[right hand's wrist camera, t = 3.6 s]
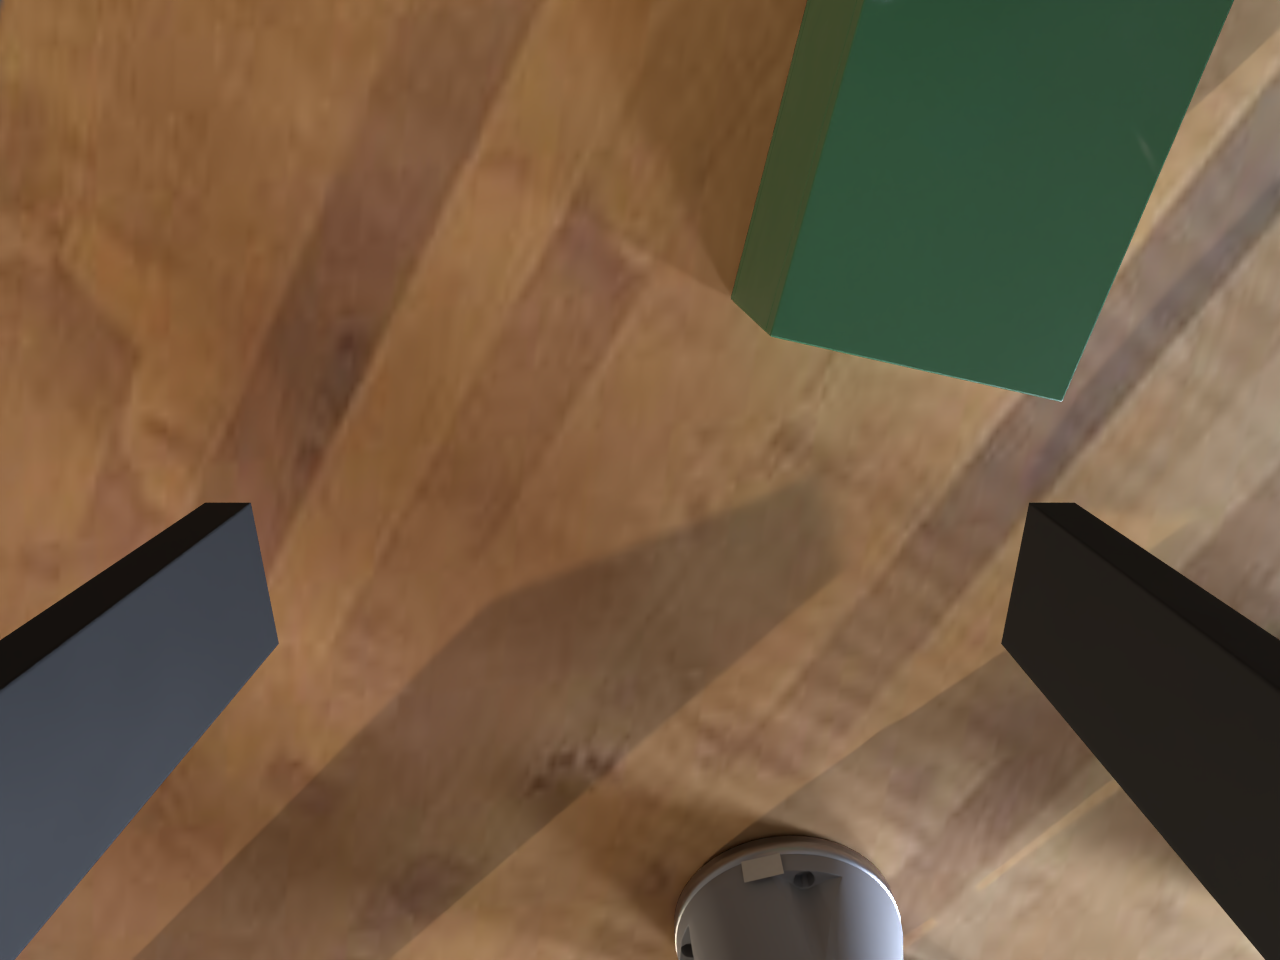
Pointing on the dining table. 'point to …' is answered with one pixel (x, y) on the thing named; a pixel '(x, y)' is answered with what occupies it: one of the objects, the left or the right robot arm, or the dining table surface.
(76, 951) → the dining table surface
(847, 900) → the right robot arm
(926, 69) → the cabinet
